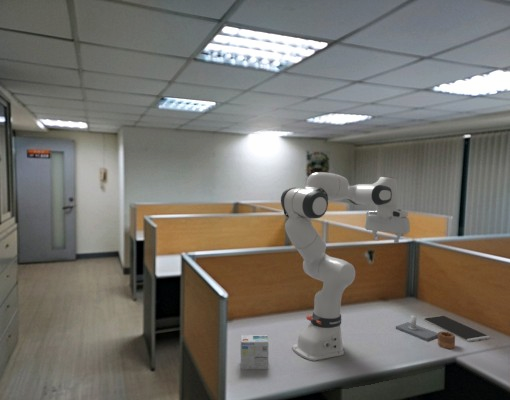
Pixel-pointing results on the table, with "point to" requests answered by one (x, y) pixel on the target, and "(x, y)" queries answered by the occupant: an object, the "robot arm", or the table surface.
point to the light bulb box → (254, 352)
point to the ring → (446, 340)
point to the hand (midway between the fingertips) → (386, 241)
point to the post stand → (417, 330)
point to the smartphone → (456, 328)
